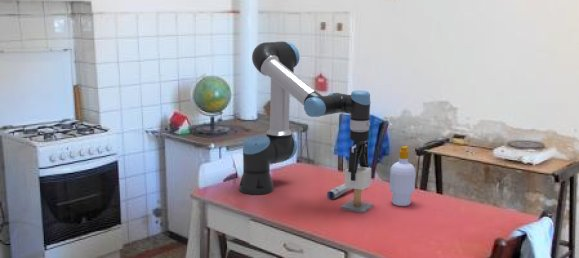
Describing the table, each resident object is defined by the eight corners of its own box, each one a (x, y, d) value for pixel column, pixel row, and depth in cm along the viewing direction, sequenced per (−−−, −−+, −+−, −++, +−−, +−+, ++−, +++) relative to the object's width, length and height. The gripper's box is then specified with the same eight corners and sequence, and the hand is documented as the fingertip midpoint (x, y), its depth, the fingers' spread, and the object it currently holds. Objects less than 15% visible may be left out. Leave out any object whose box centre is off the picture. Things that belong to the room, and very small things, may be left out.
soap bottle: (418, 203, 247) (421, 147, 242) (405, 209, 240) (408, 151, 235) (397, 198, 254) (400, 143, 249) (383, 203, 247) (386, 147, 242)
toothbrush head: (325, 189, 253) (358, 170, 270) (326, 204, 255) (359, 184, 272) (335, 192, 249) (368, 172, 267) (336, 206, 251) (368, 186, 269)
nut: (344, 187, 238) (345, 170, 237) (352, 182, 245) (352, 165, 244) (363, 189, 234) (363, 172, 233) (370, 184, 241) (371, 168, 240)
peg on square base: (340, 209, 240) (341, 187, 238) (350, 202, 248) (351, 181, 246) (363, 213, 235) (364, 191, 233) (373, 206, 244) (373, 185, 242)
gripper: (358, 135, 224) (356, 193, 229) (377, 126, 242) (375, 180, 247) (340, 133, 228) (338, 190, 232) (360, 124, 246) (359, 177, 250)
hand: (357, 185), depth 240 cm, fingers closed on nut, 8 cm apart
